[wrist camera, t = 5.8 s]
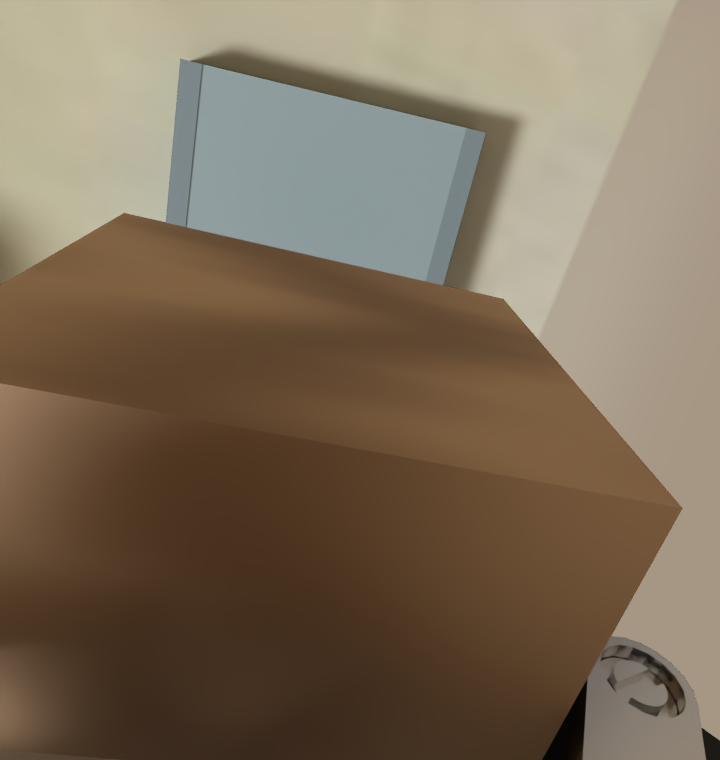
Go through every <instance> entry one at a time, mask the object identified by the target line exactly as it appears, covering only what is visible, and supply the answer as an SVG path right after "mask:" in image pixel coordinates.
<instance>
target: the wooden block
mask: <svg viewBox="0 0 720 760" xmlns="http://www.w3.org/2000/svg"><path fill="white" fill-rule="evenodd" d="M681 510H682V507H681V506H680V505H679V504H678V502H677V501H676V500H675V499H674V498H673V497H672V495H671V494H670V493H669V492H668V491H667V490H666V488H665V487H664V486H663V485H662V484H661V483H660V481H659V480H658V479H657V478H656V477H655V476H654V474H653V473H652V472H651V471H650V470H649V469H648V467H647V466H646V465H645V464H644V463H643V462H642V460H641V459H640V458H639V457H638V456H637V455H636V453H635V452H634V451H633V450H632V449H631V448H630V446H629V445H628V444H627V443H626V442H625V441H624V440H623V438H622V437H621V436H620V435H619V434H618V432H617V431H616V430H615V429H614V428H613V427H612V426H611V424H610V423H609V422H608V421H607V420H606V418H605V417H604V416H603V415H602V414H601V413H600V411H599V410H598V409H597V408H596V407H595V406H594V404H593V403H592V402H591V401H590V400H589V399H588V397H587V396H586V395H585V394H584V393H583V392H582V391H581V389H580V388H579V387H578V386H577V385H576V383H575V382H574V381H573V380H572V379H571V378H570V376H569V375H568V374H567V373H566V372H565V371H564V369H563V368H562V367H561V366H560V365H559V364H558V362H557V361H556V360H555V359H554V358H553V357H552V356H551V354H550V353H549V352H548V351H547V350H546V348H545V347H544V346H543V345H542V344H541V343H540V341H539V340H538V339H537V338H536V337H535V336H534V334H533V333H532V332H531V331H530V330H529V329H528V327H527V326H526V325H525V324H524V323H523V322H522V320H521V319H520V318H519V317H518V316H517V315H516V313H515V312H514V311H513V310H512V309H511V308H510V306H509V305H508V304H507V303H506V302H505V301H504V299H501V298H497V297H492V296H488V295H483V294H479V293H474V292H470V291H466V290H461V289H457V288H452V287H448V286H444V285H439V284H435V283H430V282H426V281H422V280H417V279H413V278H408V277H404V276H399V275H395V274H391V273H386V272H382V271H377V270H373V269H369V268H364V267H360V266H355V265H351V264H347V263H342V262H338V261H333V260H329V259H324V258H320V257H316V256H311V255H307V254H302V253H298V252H294V251H289V250H285V249H280V248H276V247H272V246H267V245H263V244H258V243H254V242H249V241H245V240H241V239H236V238H232V237H227V236H223V235H219V234H214V233H210V232H205V231H201V230H197V229H192V228H188V227H183V226H179V225H174V224H170V223H166V222H161V221H157V220H152V219H148V218H144V217H139V216H135V215H130V214H126V213H123V214H122V215H120V216H118V217H117V218H115V219H113V220H111V221H110V222H108V223H106V224H105V225H103V226H101V227H99V228H98V229H96V230H94V231H93V232H91V233H89V234H87V235H86V236H84V237H82V238H81V239H79V240H77V241H75V242H74V243H72V244H70V245H69V246H67V247H65V248H63V249H62V250H60V251H58V252H57V253H55V254H53V255H51V256H50V257H48V258H46V259H45V260H43V261H41V262H39V263H38V264H36V265H34V266H33V267H31V268H29V269H27V270H26V271H24V272H22V273H21V274H19V275H17V276H15V277H14V278H12V279H10V280H9V281H7V282H5V283H3V284H2V285H0V750H8V751H20V752H32V753H45V754H57V755H69V756H81V757H93V758H105V759H117V760H542V759H543V757H544V755H545V753H546V752H547V750H548V748H549V746H550V745H551V743H552V741H553V739H554V737H555V736H556V734H557V732H558V730H559V728H560V727H561V725H562V723H563V721H564V719H565V718H566V716H567V714H568V712H569V710H570V709H571V707H572V705H573V703H574V702H575V700H576V698H577V696H578V694H579V693H580V691H581V689H582V687H583V685H584V684H585V682H586V680H587V678H588V676H589V675H590V673H591V671H592V669H593V668H594V666H595V664H596V662H597V660H598V659H599V657H600V655H601V653H602V651H603V650H604V648H605V646H606V644H607V642H608V641H609V639H610V637H611V635H612V633H613V632H614V630H615V628H616V626H617V624H618V623H619V621H620V619H621V617H622V616H623V614H624V612H625V610H626V608H627V606H628V605H629V603H630V601H631V599H632V598H633V596H634V594H635V592H636V591H637V589H638V587H639V585H640V583H641V581H642V580H643V578H644V576H645V574H646V573H647V571H648V569H649V567H650V565H651V564H652V562H653V560H654V558H655V557H656V554H657V553H658V551H659V549H660V548H661V546H662V544H663V542H664V540H665V538H666V537H667V535H668V533H669V531H670V530H671V528H672V526H673V524H674V522H675V521H676V519H677V517H678V515H679V514H680V512H681Z"/></svg>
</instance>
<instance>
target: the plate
mask: <svg viewBox="0 0 720 760" xmlns="http://www.w3.org/2000/svg"><path fill="white" fill-rule="evenodd" d="M485 134H486V132H481V131H477V130H473V129H469V128H465V127H461V126H456V125H452V124H448V123H444V122H440V121H436V120H432V119H427V118H423V117H419V116H415V115H411V114H407V113H403V112H398V111H394V110H390V109H386V108H382V107H378V106H374V105H369V104H365V103H361V102H357V101H353V100H349V99H345V98H341V97H336V96H332V95H328V94H324V93H320V92H316V91H312V90H307V89H303V88H299V87H295V86H291V85H287V84H283V83H278V82H274V81H270V80H266V79H262V78H258V77H254V76H249V75H245V74H241V73H237V72H233V71H229V70H225V69H220V68H216V67H212V66H208V65H204V64H200V63H196V62H191V61H187V60H183V59H180V69H179V80H178V91H177V103H176V114H175V125H174V136H173V148H172V159H171V170H170V182H169V193H168V204H167V215H166V223H170V224H174V225H179V226H183V227H188V228H192V229H197V230H201V231H205V232H210V233H214V234H219V235H223V236H227V237H232V238H236V239H241V240H245V241H249V242H254V243H258V244H263V245H267V246H272V247H276V248H280V249H285V250H289V251H294V252H298V253H302V254H307V255H311V256H316V257H320V258H324V259H329V260H333V261H338V262H342V263H347V264H351V265H355V266H360V267H364V268H369V269H373V270H377V271H382V272H386V273H391V274H395V275H399V276H404V277H408V278H413V279H417V280H422V281H426V282H430V283H435V284H439V285H443V284H444V280H445V277H446V273H447V270H448V266H449V263H450V259H451V255H452V252H453V248H454V245H455V241H456V238H457V234H458V231H459V227H460V223H461V220H462V216H463V213H464V209H465V206H466V202H467V199H468V195H469V191H470V188H471V184H472V181H473V177H474V174H475V170H476V166H477V163H478V159H479V156H480V152H481V149H482V145H483V142H484V138H485Z"/></svg>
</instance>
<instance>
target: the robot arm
mask: <svg viewBox="0 0 720 760" xmlns="http://www.w3.org/2000/svg"><path fill="white" fill-rule="evenodd" d="M0 760H117V759H105V758H93V757H81V756H69V755H57V754H45V753H32V752H20V751H8V750H0ZM542 760H720V741H719V740H718V739H717V738H715V737H714V736H712V735H711V734H710V733H708V732H707V731H705V730H704V729H703V728H701V723H700V715H699V708H698V703H697V700H696V697H695V694H694V691H693V689H692V688H691V686H690V685H689V683H688V682H687V680H686V678H685V677H684V676H683V675H682V674H681V673H680V671H679V670H678V669H677V668H676V667H674V665H673V664H672V663H671V662H670V661H668V660H667V659H666V658H664V657H663V656H661V655H660V654H659V653H658V652H656V651H655V650H653V649H651V648H649V647H647V646H645V645H644V644H642V643H639V642H636V641H633V640H630V639H627V638H623V637H613V636H611V637H610V639H609V641H608V642H607V644H606V646H605V648H604V650H603V651H602V653H601V655H600V657H599V659H598V660H597V662H596V664H595V666H594V668H593V669H592V671H591V673H590V675H589V676H588V678H587V680H586V682H585V684H584V685H583V687H582V689H581V691H580V693H579V694H578V696H577V698H576V700H575V702H574V703H573V705H572V707H571V709H570V710H569V712H568V714H567V716H566V718H565V719H564V721H563V723H562V725H561V727H560V728H559V730H558V732H557V734H556V736H555V737H554V739H553V741H552V743H551V745H550V746H549V748H548V750H547V752H546V753H545V755H544V757H543V759H542Z"/></svg>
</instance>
